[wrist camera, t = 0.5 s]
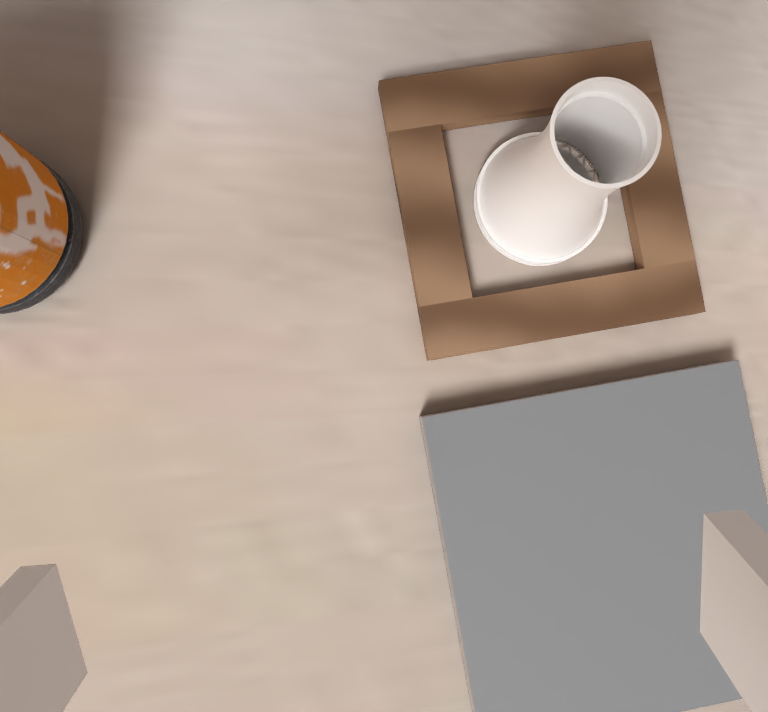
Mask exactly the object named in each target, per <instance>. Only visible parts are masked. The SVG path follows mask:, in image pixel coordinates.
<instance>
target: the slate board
mask: <svg viewBox="0 0 768 712" xmlns="http://www.w3.org/2000/svg"><path fill="white" fill-rule="evenodd" d="M419 418H420V423H421V429H422V435H423V440H424V446H425V451H426V457H427V463H428V468H429V474H430V479H431V485H432V491H433V496H434V502H435V507H436V513H437V518H438V524H439V530H440V535H441V541H442V546H443V552H444V558H445V563H446V569H447V574H448V580H449V586H450V591H451V597H452V602H453V608H454V614H455V619H456V625H457V630H458V636H459V642H460V647H461V653H462V658H463V664H464V670H465V675H466V681H467V686H468V692H469V697H470V703H471V709H472V712H681V711H686V710H691V709H696V708H700V707H705V706H710V705H714V704H719V703H724V702H728V701H733V700H738V699H742V697H741V695H740V694H739V692H738V691H737V689H736V687H735V686H734V684H733V683H732V681H731V680H730V678H729V677H728V675H727V673H726V672H725V670H724V669H723V667H722V666H721V664H720V662H719V661H718V659H717V658H716V656H715V655H714V653H713V652H712V650H711V648H710V647H709V645H708V644H707V642H706V641H705V639H704V638H703V636H702V634H701V633H700V609H701V578H702V547H703V516H704V513H713V512H726V511H738V510H745V511H746V512H747V513H748V514H749V515H750V516H751V517H752V518H753V519H754V520H755V521H756V522H757V523H758V524H759V525H760V526H761V527H762V528H763V529H764V530H765V531H766V532H767V533H768V504H767V499H766V494H765V489H764V484H763V479H762V474H761V470H760V465H759V460H758V455H757V450H756V445H755V440H754V435H753V430H752V425H751V420H750V415H749V410H748V405H747V401H746V396H745V391H744V386H743V381H742V376H741V371H740V366H739V361H738V360H734V361H722V362H717V363H711V364H706V365H700V366H694V367H689V368H683V369H678V370H672V371H667V372H661V373H656V374H650V375H645V376H639V377H633V378H628V379H622V380H617V381H611V382H606V383H600V384H595V385H589V386H584V387H578V388H573V389H567V390H561V391H556V392H550V393H545V394H539V395H534V396H528V397H523V398H517V399H512V400H506V401H501V402H495V403H489V404H484V405H478V406H473V407H467V408H462V409H456V410H451V411H445V412H440V413H434V414H429V415H423V416H419Z"/></svg>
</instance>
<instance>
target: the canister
mask: <svg viewBox="0 0 768 712" xmlns="http://www.w3.org/2000/svg"><path fill="white" fill-rule="evenodd" d="M81 241H82V221H81V215H80V211H79V208H78V205H77V202H76V199H75V198H74V196H73V194H72V192H71V190H70V188H69V187H68V186H67V184H66V183H65V182H64V181H63V179H62V178H61V177H60V176H59V175H58V174H57V173H56V172H54V171H53V170H52V169H51V168H49V167H48V166H47V165H45V164H44V163H43V162H41V161H40V160H38V159H37V158H36V157H35V156H33V155H32V154H30V153H29V152H28V151H26V150H25V149H24V148H22V147H21V146H20V145H18V144H17V143H16V142H14V141H13V140H12V139H10V138H9V137H7V136H6V135H5V134H3V133H2V132H1V131H0V314H5V313H11V312H16V311H20V310H23V309H26V308H29V307H31V306H33V305H35V304H37V303H39V302H41V301H43V300H44V299H45V298H47V297H48V296H50V295H51V294H52V293H54V292H55V291H56V290H57V289H58V288H59V287H60V286H61V285H62V284H63V282H64V281H65V280H66V278H67V277H68V275H69V274H70V272H71V271H72V269H73V267H74V265H75V263H76V260H77V257H78V254H79V251H80V247H81Z"/></svg>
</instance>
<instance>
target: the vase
mask: <svg viewBox="0 0 768 712" xmlns="http://www.w3.org/2000/svg"><path fill="white" fill-rule="evenodd" d="M576 95H577V96H576ZM630 107H631V108H630ZM661 139H662V130H661V124H660V119H659V116H658V114H657V111H656V109H655V107H654V106H653V104H652V102H651V101H650V100H649V98H648V97H647V96H646V95H645V94H644V93H643V92H642V91H641V90H639V89H638V88H637V87H635V86H634V85H632V84H630V83H628V82H626V81H624V80H621V79H617V78H612V77H594V78H590V79H586V80H583V81H581V82H579V83H577V84H575V85H574V86H572V87H571V88H570V89H568V90H567V91H566V92H565V93H564V94H563V95H562V97H561V98H560V99H559V101H558V102H557V104H556V106H555V108H554V110H553V113H552V116H551V119H550V121H549V123H548V125H547V126H546V128H545V129H544V130H543V132H531V133H526V134H522V135H519V136H516V137H514V138H512V139H510V140H508V141H506V142H505V143H503V144H502V145H501V146H499V147H498V148H497V149H496V150H495V151H494V152H493V153H492V154H491V155H490V157H489V158H488V159H487V161H486V163H485V164H484V166H483V168H482V170H481V171H480V173H479V176H478V178H477V181H476V184H475V189H474V198H473V203H474V212H475V216H476V220H477V223H478V225H479V228H480V230H481V232H482V233H483V235H484V236H485V238H486V239H487V241H488V242H489V243H490V244H491V245H492V246H493V247H494V248H495V249H496V250H497V251H498V252H500V253H501V254H502V255H504V256H505V257H507V258H509V259H511V260H513V261H515V262H518V263H521V264H526V265H531V266H547V265H553V264H557V263H560V262H563V261H565V260H567V259H569V258H571V257H572V256H574V255H576V254H578V253H579V252H581V251H582V250H583V249H585V248H586V247H587V246H588V245H589V244H590V243H591V242H592V241H593V239H594V238H595V237H596V235H597V234H598V232H599V231H600V229H601V227H602V225H603V222H604V219H605V216H606V211H607V203H608V195H609V194H610V193H612V192H613V191H615V190H617V189H619V188H621V187H623V186H626V185H629V184H631V183H633V182H635V181H636V180H638V179H639V178H641V177H642V176H643V175H644V174H645V173H646V172H647V171H648V170H649V169H650V168H651V167H652V165H653V164H654V162H655V160H656V158H657V156H658V153H659V150H660V146H661ZM556 140H561V141H564V142H567V143H565V144H564V143H561V142H559V141H556ZM568 144H570V145H569V146H568ZM571 145H572V146H574V147H575V148H577V149H578V150H579V151H581V152H582V153H583V154H579V153H578V152H577V151H575V150H574V149H573V148H572V147H571ZM584 155H585V157H584V158H583V156H584ZM586 157H587V158H588V159H589V161H590V162H591V163H592V165H593V166H594V168H595V170H594V169H592V168H591V166H590V165H589V163H588V162H587V161H586ZM595 171H596V172H595ZM594 172H595V173H594ZM597 174H598V177H599V182H600V183H599V182H598V179H597Z"/></svg>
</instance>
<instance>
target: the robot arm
mask: <svg viewBox="0 0 768 712" xmlns="http://www.w3.org/2000/svg"><path fill="white" fill-rule="evenodd" d="M700 633H701V634H702V636H703V638H704V639H705V641H706V642H707V644H708V645H709V647H710V648H711V650H712V652H713V653H714V655H715V656H716V658H717V659H718V661H719V662H720V664H721V666H722V667H723V669H724V670H725V672H726V673H727V675H728V677H729V678H730V680H731V681H732V683H733V684H734V686H735V687H736V689H737V691H738V692H739V694H740V695H741V697H742V698H743V700H744V702H745V703H746V705H747V706H748V708H749V709H750V711H751V712H768V533H767V532H766V531H765V530H764V529H763V528H762V527H761V526H760V525H759V524H758V523H757V522H756V521H755V520H754V519H753V518H752V517H751V516H750V515H749V514H748V513H747V512H746V511H745V510H738V511H726V512H713V513H704V516H703V547H702V578H701V609H700ZM86 674H87V669H86V666H85V662H84V659H83V655H82V652H81V648H80V645H79V641H78V638H77V635H76V631H75V628H74V624H73V621H72V617H71V614H70V610H69V607H68V603H67V600H66V597H65V593H64V590H63V586H62V583H61V579H60V576H59V572H58V569H57V566H56V564H48V565H35V566H22V567H20V568H19V569H18V570H17V571H16V572H15V573H14V574H13V575H12V576H11V577H10V578H9V579H8V580H7V581H6V582H5V583H4V584H3V585H2V586H1V587H0V712H63V710H64V709H65V707H66V705H67V704H68V702H69V701H70V699H71V698H72V696H73V695H74V693H75V691H76V690H77V688H78V687H79V685H80V684H81V682H82V680H83V679H84V677H85V676H86Z"/></svg>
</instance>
